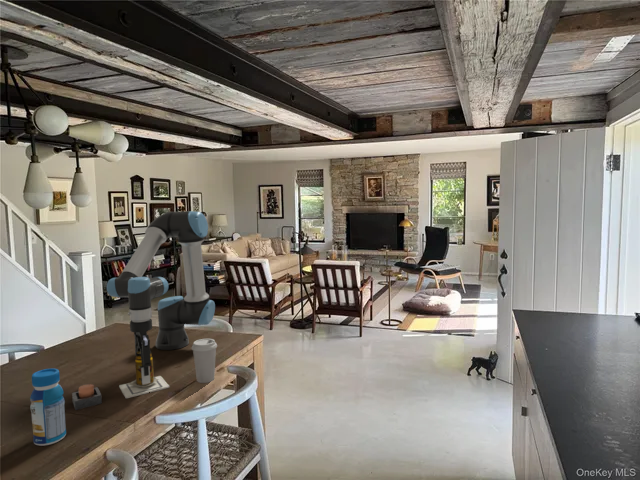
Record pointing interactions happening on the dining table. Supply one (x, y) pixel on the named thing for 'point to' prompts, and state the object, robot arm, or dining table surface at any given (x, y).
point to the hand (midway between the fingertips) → (144, 380)
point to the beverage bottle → (47, 407)
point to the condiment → (139, 374)
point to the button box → (86, 400)
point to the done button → (86, 390)
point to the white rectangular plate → (143, 388)
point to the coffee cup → (204, 359)
